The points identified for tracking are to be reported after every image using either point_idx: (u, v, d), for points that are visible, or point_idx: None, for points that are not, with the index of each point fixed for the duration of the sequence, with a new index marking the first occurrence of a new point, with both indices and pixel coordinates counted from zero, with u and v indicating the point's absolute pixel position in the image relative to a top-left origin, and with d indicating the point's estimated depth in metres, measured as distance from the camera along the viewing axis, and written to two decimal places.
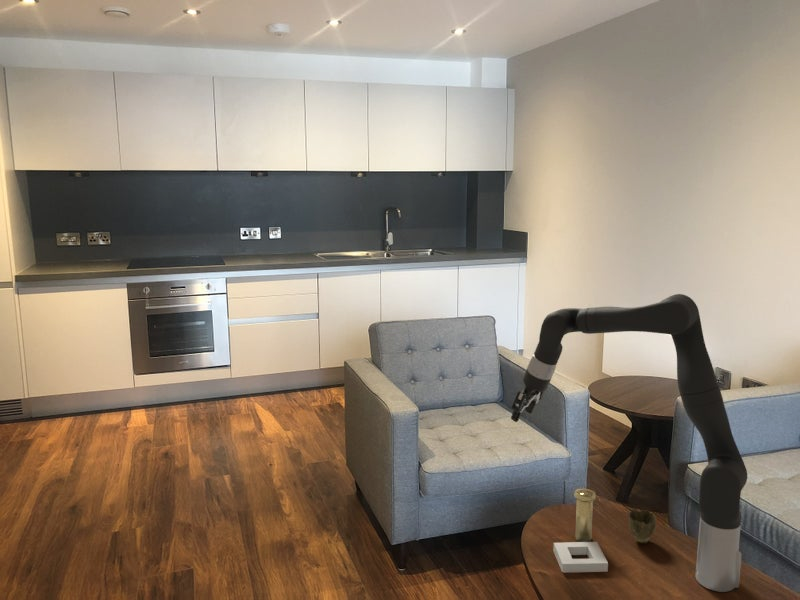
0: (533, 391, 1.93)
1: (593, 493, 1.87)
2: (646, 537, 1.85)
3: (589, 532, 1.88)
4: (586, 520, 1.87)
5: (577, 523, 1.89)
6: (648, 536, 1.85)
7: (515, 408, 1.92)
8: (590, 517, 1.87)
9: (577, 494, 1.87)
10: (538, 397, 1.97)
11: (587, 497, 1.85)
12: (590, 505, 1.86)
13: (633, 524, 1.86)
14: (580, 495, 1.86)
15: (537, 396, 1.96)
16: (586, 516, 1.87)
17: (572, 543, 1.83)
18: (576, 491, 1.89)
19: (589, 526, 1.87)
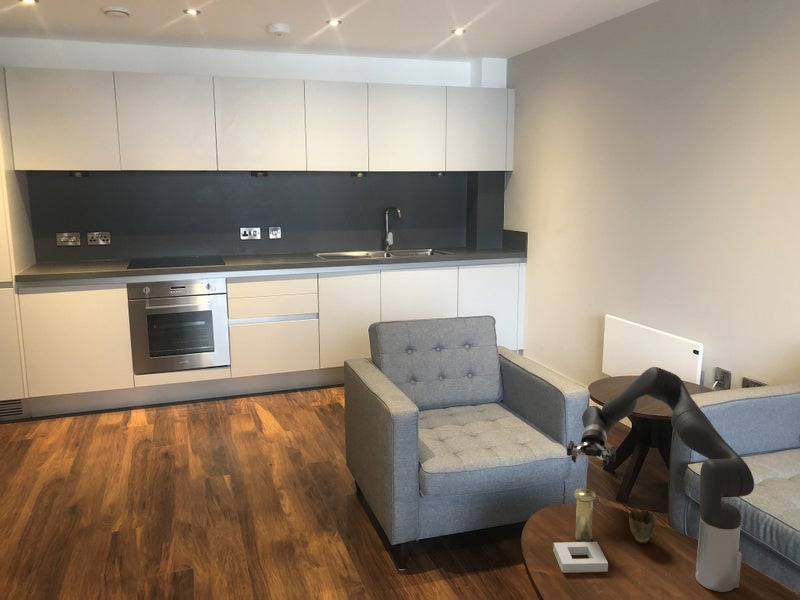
0: None
1: (593, 493, 1.87)
2: (646, 537, 1.85)
3: (589, 532, 1.88)
4: (586, 520, 1.87)
5: (577, 523, 1.89)
6: (648, 536, 1.85)
7: None
8: (590, 517, 1.87)
9: (577, 494, 1.87)
10: (600, 447, 2.02)
11: (587, 497, 1.85)
12: (590, 505, 1.86)
13: (633, 524, 1.86)
14: (580, 495, 1.86)
15: (596, 445, 2.03)
16: (586, 516, 1.86)
17: (572, 543, 1.83)
18: (576, 491, 1.89)
19: (589, 526, 1.87)
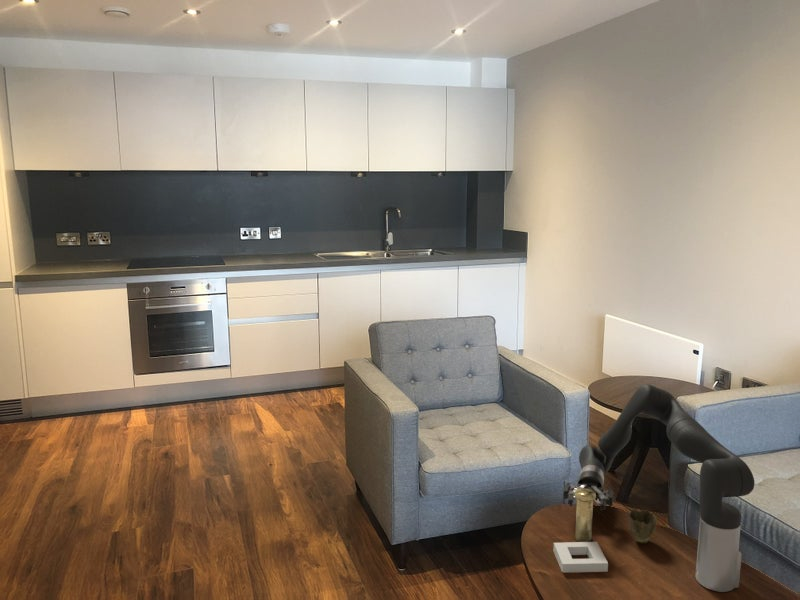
0: None
1: (594, 493, 1.87)
2: (646, 537, 1.85)
3: (589, 532, 1.88)
4: (586, 520, 1.87)
5: (577, 523, 1.89)
6: (648, 536, 1.85)
7: None
8: (590, 517, 1.87)
9: (577, 494, 1.87)
10: (597, 490, 1.98)
11: (587, 497, 1.85)
12: (590, 505, 1.86)
13: (633, 524, 1.86)
14: (580, 495, 1.86)
15: (593, 488, 1.99)
16: (587, 516, 1.87)
17: (572, 543, 1.83)
18: (576, 491, 1.89)
19: (589, 526, 1.87)
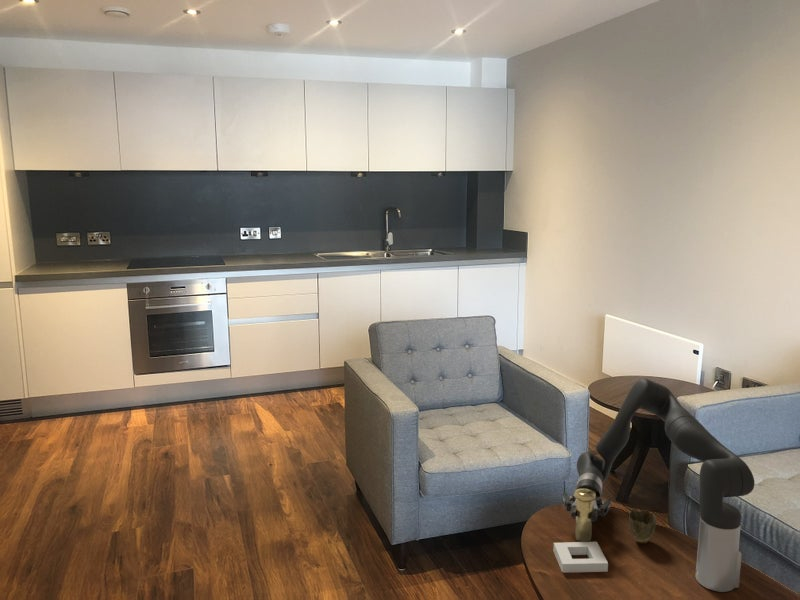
0: None
1: (593, 493, 1.87)
2: (646, 537, 1.85)
3: (589, 532, 1.88)
4: (586, 520, 1.87)
5: (577, 523, 1.89)
6: (648, 536, 1.85)
7: None
8: (590, 517, 1.87)
9: (577, 494, 1.87)
10: (593, 500, 1.92)
11: (587, 497, 1.85)
12: (590, 505, 1.86)
13: (633, 524, 1.86)
14: (580, 495, 1.86)
15: None
16: (586, 516, 1.87)
17: (572, 543, 1.83)
18: (576, 491, 1.89)
19: (589, 526, 1.87)
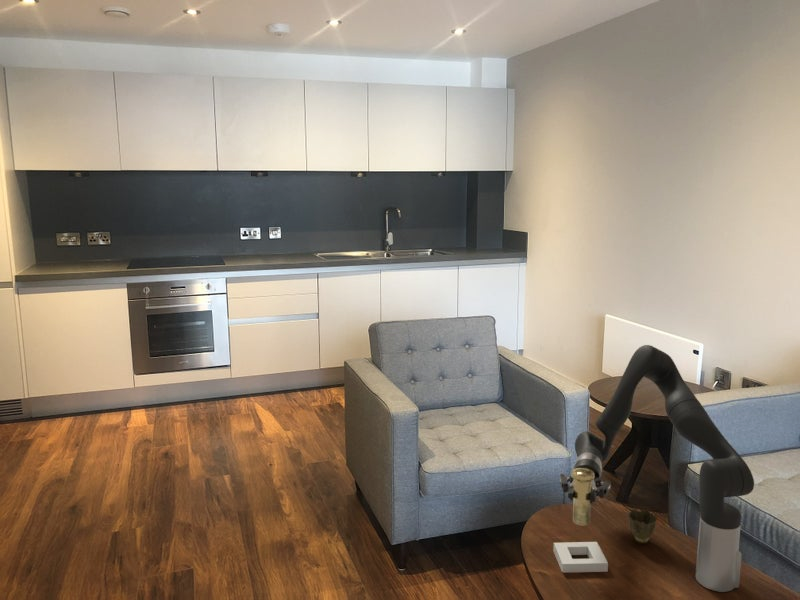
0: None
1: (592, 473, 1.74)
2: (646, 537, 1.85)
3: (587, 514, 1.75)
4: (584, 501, 1.74)
5: (575, 505, 1.75)
6: (648, 536, 1.85)
7: None
8: (588, 498, 1.74)
9: (575, 473, 1.74)
10: (591, 481, 1.79)
11: (585, 476, 1.72)
12: (588, 485, 1.73)
13: (633, 524, 1.86)
14: (578, 474, 1.73)
15: None
16: (585, 497, 1.73)
17: (572, 543, 1.83)
18: (573, 470, 1.76)
19: (587, 508, 1.74)
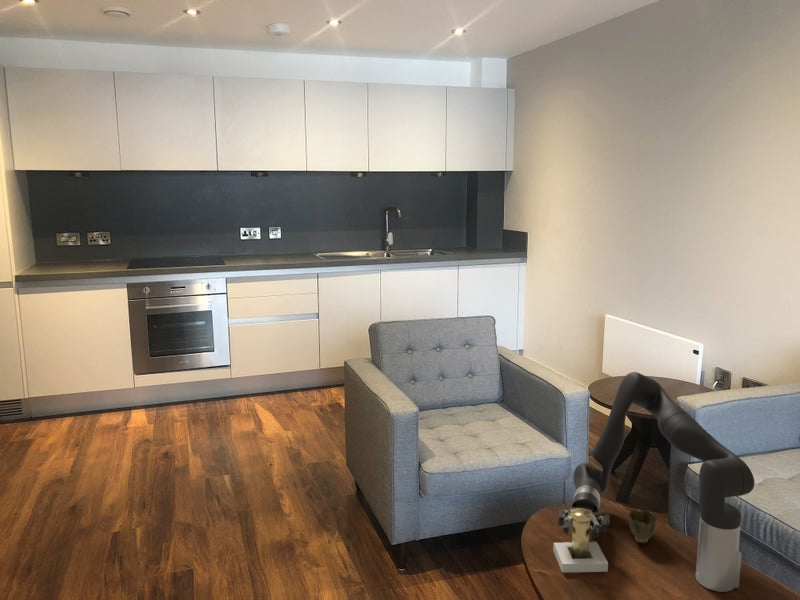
0: None
1: (590, 514, 1.77)
2: (646, 537, 1.85)
3: (586, 555, 1.77)
4: (583, 542, 1.76)
5: (573, 545, 1.78)
6: (648, 536, 1.85)
7: None
8: (587, 539, 1.76)
9: (573, 514, 1.76)
10: None
11: (584, 518, 1.74)
12: (587, 526, 1.75)
13: (633, 524, 1.86)
14: (576, 516, 1.76)
15: None
16: (583, 538, 1.76)
17: None
18: (572, 511, 1.78)
19: (586, 548, 1.77)
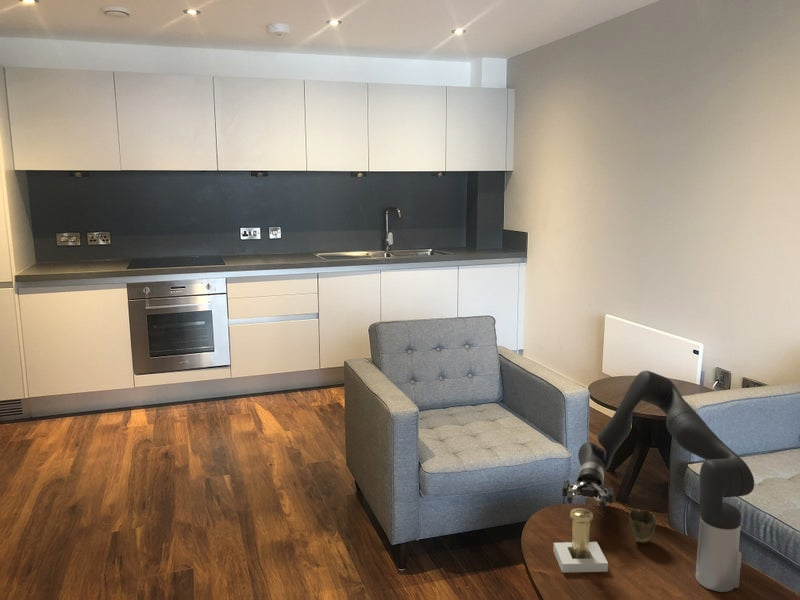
0: None
1: (590, 513, 1.77)
2: (646, 537, 1.85)
3: (586, 555, 1.77)
4: (583, 542, 1.76)
5: (573, 545, 1.78)
6: (648, 536, 1.85)
7: None
8: (587, 539, 1.76)
9: (573, 514, 1.76)
10: (597, 488, 1.92)
11: (584, 518, 1.74)
12: (587, 526, 1.75)
13: (633, 524, 1.86)
14: (576, 516, 1.76)
15: (593, 485, 1.94)
16: (583, 538, 1.76)
17: None
18: (572, 511, 1.78)
19: (586, 548, 1.77)
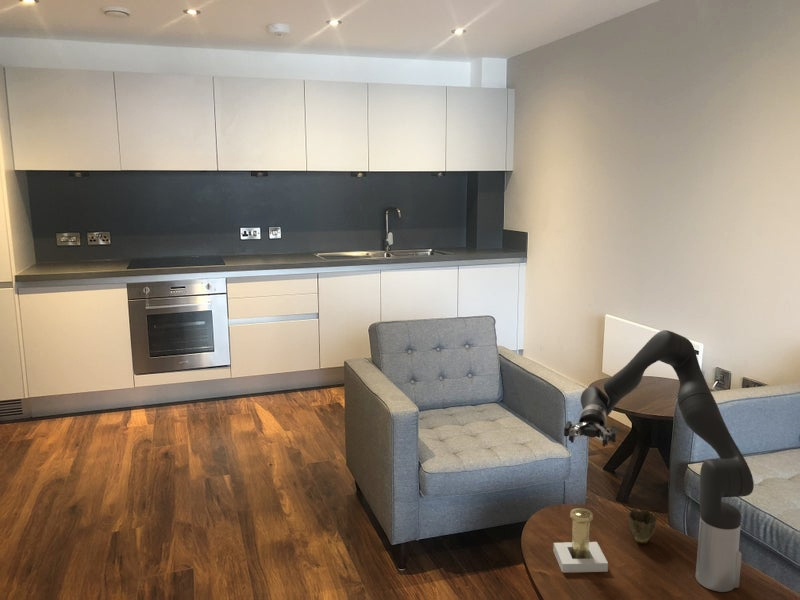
0: None
1: (590, 513, 1.77)
2: (646, 537, 1.85)
3: (586, 555, 1.77)
4: (583, 542, 1.76)
5: (573, 545, 1.78)
6: (648, 536, 1.85)
7: None
8: (587, 539, 1.76)
9: (573, 514, 1.76)
10: (600, 427, 1.89)
11: (584, 518, 1.74)
12: (587, 526, 1.75)
13: (633, 524, 1.86)
14: (576, 516, 1.76)
15: (595, 425, 1.90)
16: (583, 538, 1.76)
17: None
18: (572, 511, 1.78)
19: (586, 548, 1.77)
